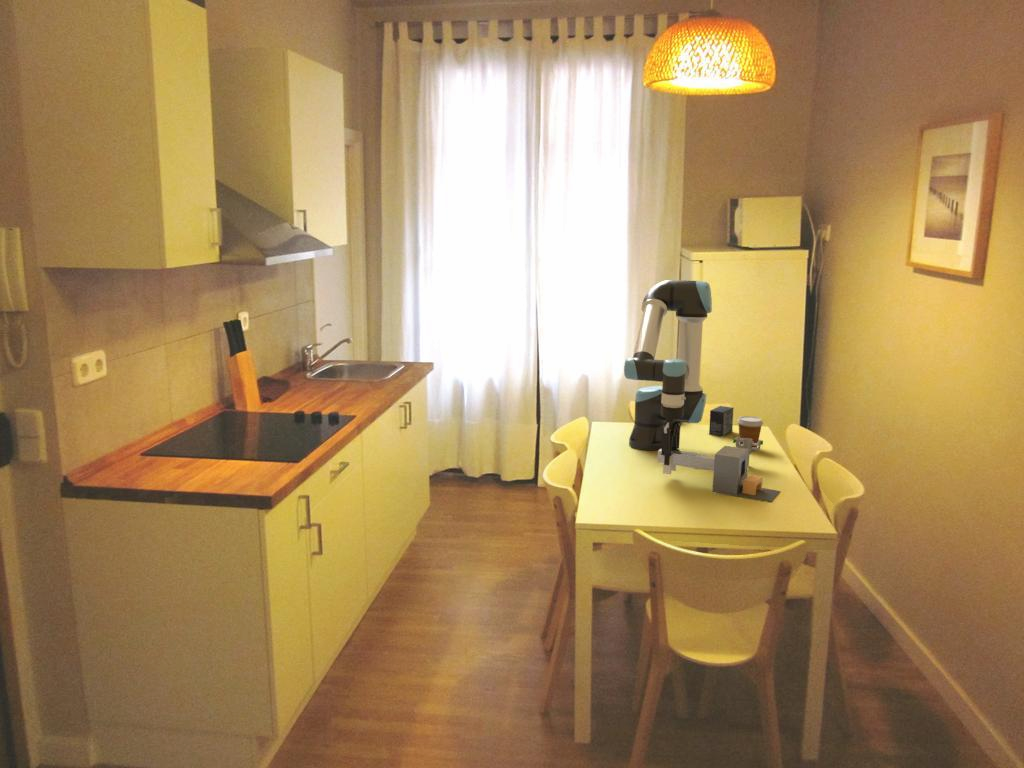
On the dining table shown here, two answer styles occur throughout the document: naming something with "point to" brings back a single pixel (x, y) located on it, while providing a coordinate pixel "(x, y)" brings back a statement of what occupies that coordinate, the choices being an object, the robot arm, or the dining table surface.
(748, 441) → the mechanical component
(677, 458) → the shaft
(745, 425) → the disposable coffee cup
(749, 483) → the block
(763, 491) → the mat
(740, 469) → the block
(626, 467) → the dining table surface
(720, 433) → the small box
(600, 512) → the dining table surface
